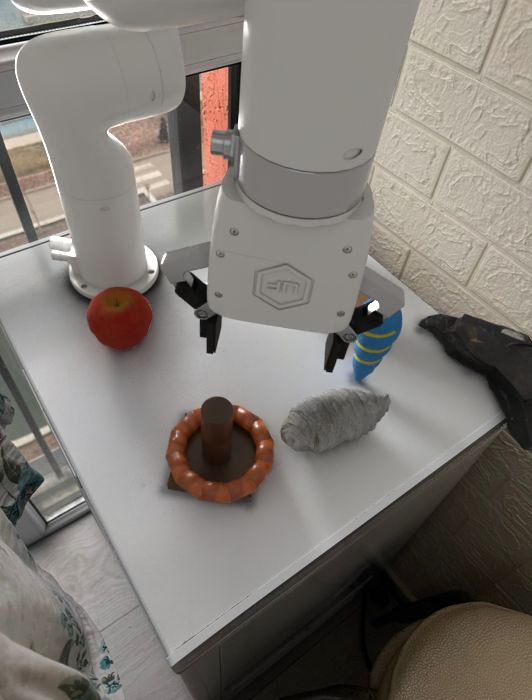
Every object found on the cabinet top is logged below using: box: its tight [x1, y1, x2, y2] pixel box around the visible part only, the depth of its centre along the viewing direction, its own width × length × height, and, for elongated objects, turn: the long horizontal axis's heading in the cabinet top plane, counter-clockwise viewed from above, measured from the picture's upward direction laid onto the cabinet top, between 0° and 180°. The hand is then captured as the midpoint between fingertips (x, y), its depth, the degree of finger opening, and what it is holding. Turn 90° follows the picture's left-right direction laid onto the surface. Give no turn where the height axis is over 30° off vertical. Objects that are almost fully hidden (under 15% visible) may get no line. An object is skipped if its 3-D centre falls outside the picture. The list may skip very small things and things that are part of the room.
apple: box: [85, 287, 154, 352], centre depth 64 cm, size 8×8×8 cm
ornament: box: [351, 298, 403, 383], centre depth 60 cm, size 5×5×15 cm
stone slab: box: [417, 313, 532, 451], centre depth 67 cm, size 22×16×5 cm
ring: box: [165, 404, 275, 504], centre depth 55 cm, size 12×12×2 cm
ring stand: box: [166, 395, 256, 502], centre depth 53 cm, size 9×9×10 cm
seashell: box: [279, 387, 392, 454], centre depth 58 cm, size 6×14×8 cm, turn 115°
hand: (271, 349), depth 42 cm, fingers open, 9 cm apart
